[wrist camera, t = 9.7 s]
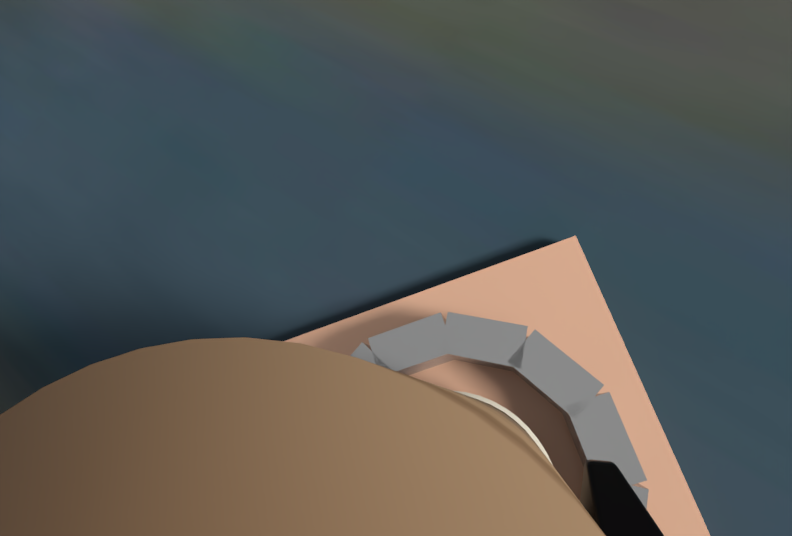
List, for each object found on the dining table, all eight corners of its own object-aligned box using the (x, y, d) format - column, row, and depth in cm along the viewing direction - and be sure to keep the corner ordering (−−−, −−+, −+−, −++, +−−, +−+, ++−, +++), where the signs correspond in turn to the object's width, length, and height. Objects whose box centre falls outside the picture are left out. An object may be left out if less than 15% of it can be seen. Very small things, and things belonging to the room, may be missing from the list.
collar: (744, 631, 15) (799, 684, 12) (344, 739, 16) (308, 809, 13) (572, 244, 18) (583, 214, 16) (256, 358, 20) (213, 349, 17)
